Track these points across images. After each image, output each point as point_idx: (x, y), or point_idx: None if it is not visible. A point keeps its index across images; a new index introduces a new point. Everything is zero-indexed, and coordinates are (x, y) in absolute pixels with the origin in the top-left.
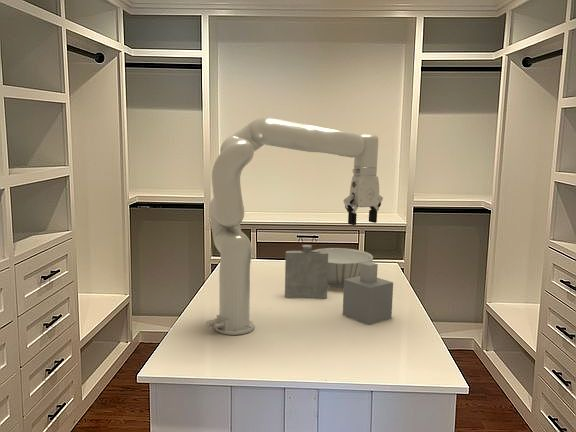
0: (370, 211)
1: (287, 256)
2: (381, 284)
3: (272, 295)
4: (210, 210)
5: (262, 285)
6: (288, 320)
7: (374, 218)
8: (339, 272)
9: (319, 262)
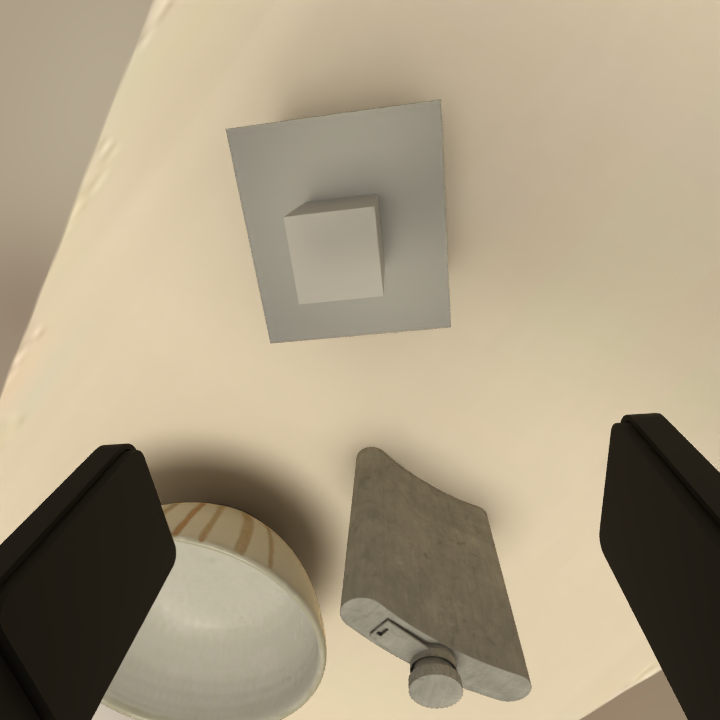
0: (71, 705)
1: (525, 663)
2: (324, 127)
3: (509, 552)
4: None
5: None
6: (656, 326)
7: (105, 504)
8: (261, 535)
9: (393, 572)
